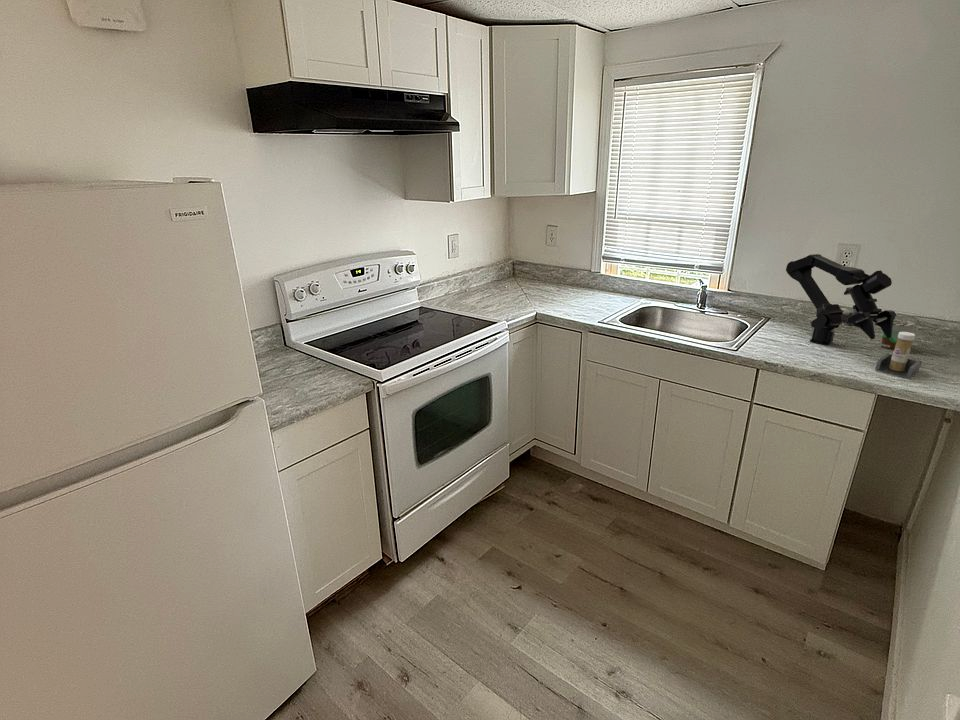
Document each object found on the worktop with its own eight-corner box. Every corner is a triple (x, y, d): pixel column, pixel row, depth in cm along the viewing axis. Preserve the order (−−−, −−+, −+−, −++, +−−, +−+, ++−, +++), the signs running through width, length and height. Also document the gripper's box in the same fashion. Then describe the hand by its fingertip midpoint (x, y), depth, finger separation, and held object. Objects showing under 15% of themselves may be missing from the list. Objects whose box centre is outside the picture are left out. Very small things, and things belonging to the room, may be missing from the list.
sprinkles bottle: (885, 368, 183) (896, 332, 178) (892, 366, 185) (902, 330, 180) (900, 372, 179) (912, 336, 174) (907, 370, 181) (918, 333, 176)
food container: (893, 353, 198) (900, 328, 194) (877, 347, 204) (884, 323, 200) (917, 349, 201) (924, 324, 197) (901, 344, 207) (908, 320, 203)
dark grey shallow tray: (874, 370, 183) (878, 360, 181) (884, 363, 188) (887, 353, 187) (909, 379, 175) (913, 368, 174) (918, 371, 181) (921, 361, 180)
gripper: (858, 309, 202) (876, 346, 197) (826, 310, 195) (843, 348, 190) (887, 295, 192) (906, 334, 187) (854, 296, 185) (873, 336, 180)
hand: (881, 338), depth 186 cm, fingers open, 9 cm apart
